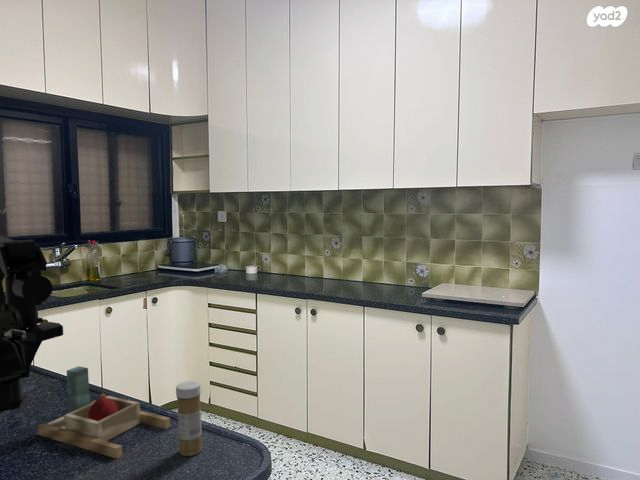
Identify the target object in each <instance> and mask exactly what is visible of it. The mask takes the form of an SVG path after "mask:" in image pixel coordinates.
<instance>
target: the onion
mask: <svg viewBox="0 0 640 480" xmlns="http://www.w3.org/2000/svg"><path fill="white" fill-rule="evenodd" d="M106 396H107V394H105V393H101V394H100V396H99V398H98V399H97V400H96V401H95V402H94V404H93V405H92V406H91V408H90V410H89V413H88V418H89V419H92V420H95V421H100V420H102V419H104V418H106V417H108V416H110V415H112V414H114V413H116V412H118V407H117V405H116V404H115V403H114V402H113V401H112V400H111V399H108V398H106Z"/></svg>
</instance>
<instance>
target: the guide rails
mask: <svg viewBox="0 0 640 480" xmlns="http://www.w3.org/2000/svg"><path fill="white" fill-rule="evenodd" d="M95 401H97V400H96V399H94V400H92V401H90V403H93V402H95ZM140 413H141V423H140V424H145V425H148V426H154V427H157V428H160V429H164V430H166V429H168V428H170V427H171V418H170V417H167V416H164V415H159V414H155V413H150V412H147V411H144V410H143V411H142V410H140ZM47 424H48V423H43V422H42V423H41V424H39V425H37V435H38V436H41V437H44V438H48V439H50V440H54V441H58V442H60V443H65V444H68V445H71V446H73V447H77V448H81V449H84V450H88V451H90V452H94V453H97V454H100V455H104V456H106V457H110V458H114V459H116V460H118V459H120V458H121V457H123V445H121V444H117V443H114V442H109V441H104V440H100V439H97V438H93V437H89V436H86V435H82V434H79V433H75V432H72V431H68V430H65V429H61V428H58V427H54V426H51V425H47Z"/></svg>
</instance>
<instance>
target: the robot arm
mask: <svg viewBox="0 0 640 480" xmlns="http://www.w3.org/2000/svg"><path fill="white" fill-rule="evenodd" d="M47 263H48V262H47V260H46V257H45V255H44V254H43V251H42V249H41V247H40V245H39V244H37V242H36V241H35V240H34V239H27V240H25V239H24V240H23V239H22V240H13V239H11V238H8V237H6V236H5V235H2V234H0V411H1V410H6V409H9V410H10V409H17V408H20V407H21V406H22V404H23V403H24V402H25V401H26V399H27V398H28V396H27V395H25V394H24V395H22V382H21V381H22V379H24V378H25V379H26V378H29V377H30V370H31V366H32V364H33V361H34V359H35V357H36V355H37V352H38V350H39V349H40V346H41V345H42V342H44V341H48V340H52V339H54V338H57V337H61V336H64V326H63V325H62V324H60V323H59V322H54V321H53V322H52V321H47V322H44V318H43V317H39V310H38V306H40V305H42V304H43V302H45V301H46V300H48V299H49V297H51V295H52V292H53V289H54V288H53V284H52V282H51V280H50V278H48V277H46V276H45V275H42V272H43V271H47V269H48V268H47ZM3 281H4V284H3ZM3 285H4V286H5V290H4V286H3Z"/></svg>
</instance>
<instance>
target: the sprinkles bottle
mask: <svg viewBox="0 0 640 480" xmlns="http://www.w3.org/2000/svg"><path fill="white" fill-rule="evenodd" d="M175 394H176V395H175V396H176V399H177V425H178V426H177V427H178V437H179V440H178V441H179V448H178V451H179V454H180V455H182V456H184V457H185V456H186V457H192V456H195V455H198V454H200V453H201V452H202V450H203V449H204V448H203V447H204V445H203V436H202V435H203V434H202V432H203V430H202V411H201V409H202V408H201V397H200V396H201V384H200V382H199V381H197V380H196V381H194V380H189V381H183V382H180V383H179V384H177V385H176V387H175Z"/></svg>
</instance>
